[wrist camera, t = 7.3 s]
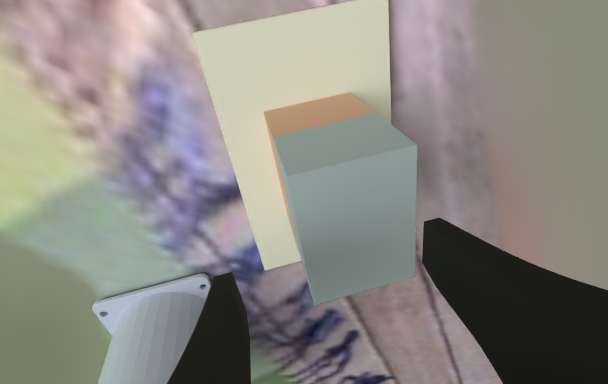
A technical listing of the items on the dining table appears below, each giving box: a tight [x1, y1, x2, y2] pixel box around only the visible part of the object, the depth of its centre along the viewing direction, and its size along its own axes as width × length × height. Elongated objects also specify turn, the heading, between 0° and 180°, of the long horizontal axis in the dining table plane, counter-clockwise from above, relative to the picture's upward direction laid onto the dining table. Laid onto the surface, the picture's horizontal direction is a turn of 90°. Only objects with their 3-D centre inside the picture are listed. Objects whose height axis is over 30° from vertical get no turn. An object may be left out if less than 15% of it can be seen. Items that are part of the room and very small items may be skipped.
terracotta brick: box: [264, 92, 375, 249], centre depth 19 cm, size 7×5×4 cm
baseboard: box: [192, 0, 391, 270], centre depth 21 cm, size 16×10×1 cm, turn 9°
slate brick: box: [273, 113, 417, 305], centre depth 16 cm, size 7×5×4 cm
